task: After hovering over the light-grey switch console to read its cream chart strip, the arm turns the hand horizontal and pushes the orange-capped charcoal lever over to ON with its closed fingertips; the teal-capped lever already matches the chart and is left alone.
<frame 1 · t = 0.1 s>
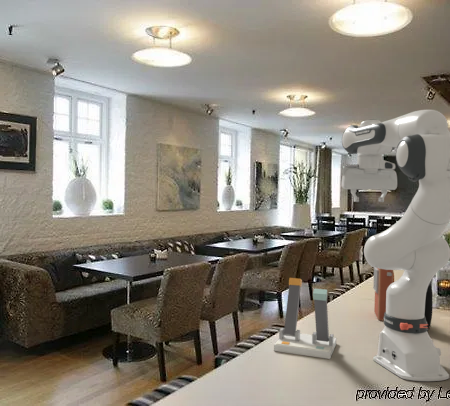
hand: (368, 201, 168), 48 cm above the counter, tool pointing down, fingers open, 8 cm apart
lever teal: (321, 316, 144), point 12 cm above the counter, hinge at 25.0°
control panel: (382, 317, 188), on the counter
lever orange: (292, 306, 155), point 12 cm above the counter, hinge at -25.0°
console: (295, 345, 151), on the counter
portable speaker: (418, 330, 170), on the counter
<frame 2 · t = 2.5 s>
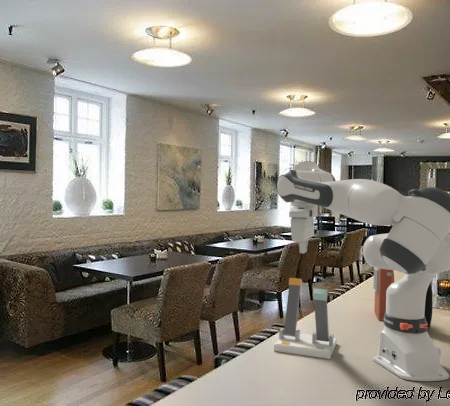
hand: (303, 252, 150), 31 cm above the counter, tool pointing down, fingers closed
nothing on the counter moved.
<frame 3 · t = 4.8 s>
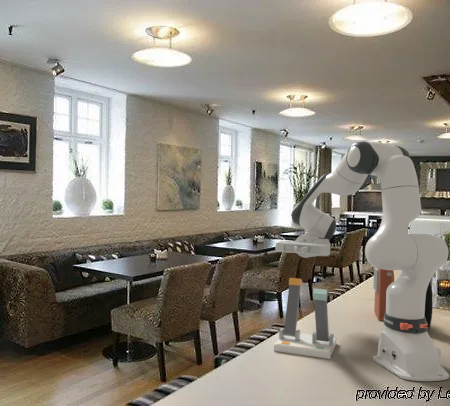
hand: (298, 250, 162), 30 cm above the counter, tool horizontal, fingers closed
nothing on the counter moved.
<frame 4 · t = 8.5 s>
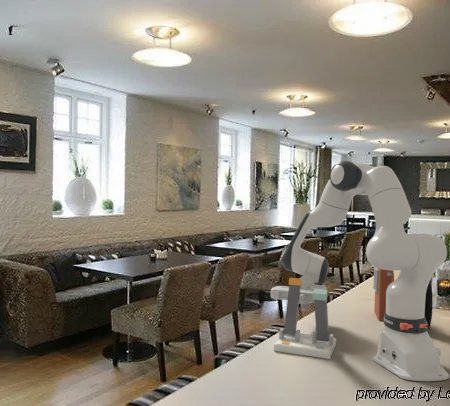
hand: (294, 299, 157), 14 cm above the counter, tool horizontal, fingers closed, pressing on lever orange
lever orange: (292, 306, 155), point 12 cm above the counter, hinge at -24.6°, touching gripper
everything else where it was.
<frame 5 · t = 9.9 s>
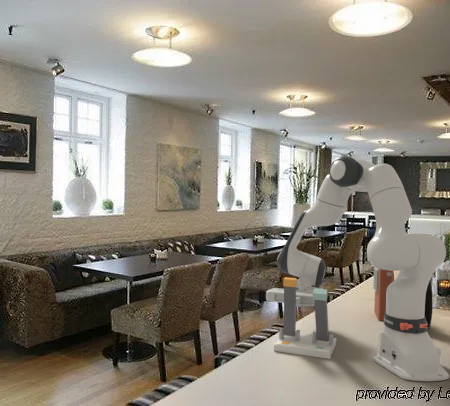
hand: (290, 302, 152), 14 cm above the counter, tool horizontal, fingers closed, pressing on lever orange
lever orange: (289, 307, 151), point 13 cm above the counter, hinge at 3.0°, touching gripper
everything else where it was.
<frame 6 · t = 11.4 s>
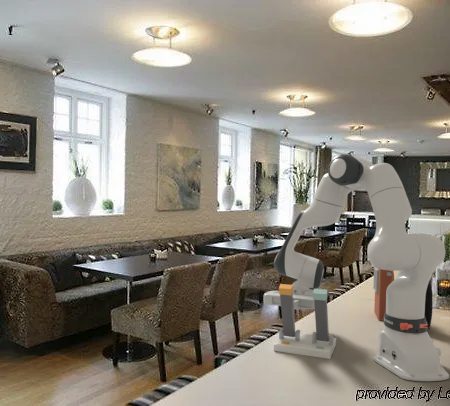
hand: (288, 305, 149), 14 cm above the counter, tool horizontal, fingers closed, pressing on lever orange
lever orange: (287, 311, 148), point 12 cm above the counter, hinge at 22.2°, touching gripper
everything else where it was.
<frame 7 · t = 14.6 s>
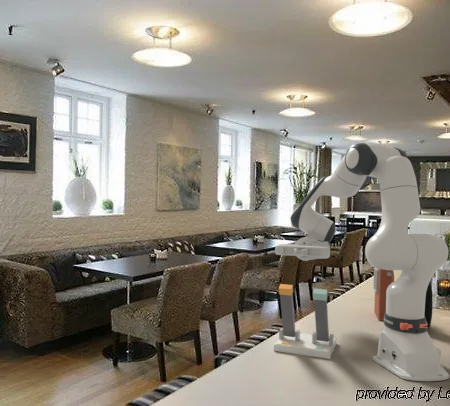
hand: (298, 252, 162), 30 cm above the counter, tool horizontal, fingers closed
lever orange: (287, 311, 148), point 12 cm above the counter, hinge at 22.4°
everything else where it was.
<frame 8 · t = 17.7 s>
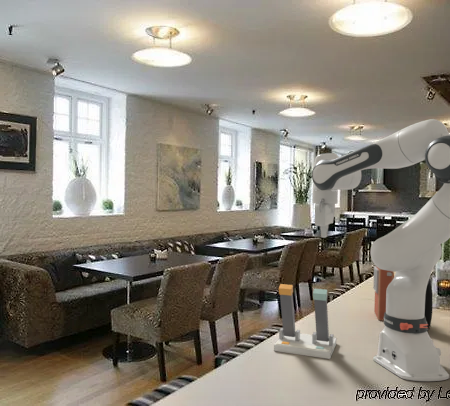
hand: (324, 237, 163), 35 cm above the counter, tool pointing down, fingers closed
nothing on the counter moved.
at the end: lever orange at +22° (first picture: -25°); lever teal at +25° (first picture: +25°) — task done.
